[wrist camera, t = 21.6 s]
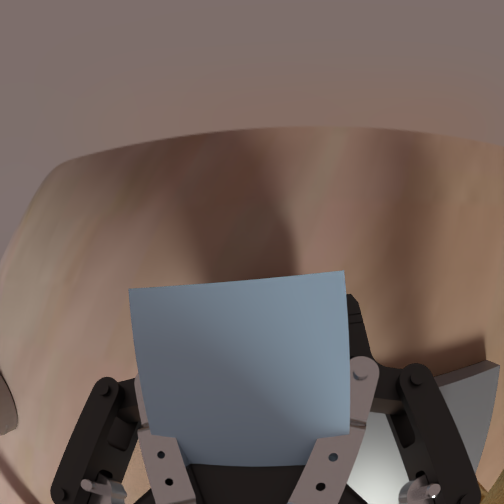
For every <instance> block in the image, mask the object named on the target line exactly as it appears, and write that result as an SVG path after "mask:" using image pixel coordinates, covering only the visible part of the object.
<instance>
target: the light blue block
mask: <svg viewBox="0 0 504 504" xmlns="http://www.w3.org/2000/svg"><path fill="white" fill-rule="evenodd" d="M129 301H130V312H131V321H132V330H133V338H134V346H135V353H136V360H137V366H138V373H139V378H140V384H141V390H142V395H143V400H144V405H145V410H146V414H147V419H148V423H149V427H150V432H151V435H158V436H165V437H173V438H176V439H177V441H178V442H179V444H180V446H181V448H182V449H183V451H184V453H185V455H186V456H187V458H188V461H189V464H208V465H222V466H250V467H263V466H292V465H306V464H307V461H308V459H309V457H310V455H311V452H312V450H313V448H314V445H315V443H316V440H317V438H326V437H334V436H341V435H348V434H349V431H350V354H349V330H348V313H347V299H346V287H345V276H344V270H343V271H334V272H325V273H315V274H306V275H296V276H286V277H275V278H265V279H254V280H242V281H231V282H219V283H206V284H193V285H179V286H165V287H150V288H134V289H129ZM329 460H330V461H332V462H333V461H336V458H335V457H334V456H330V457H329Z"/></svg>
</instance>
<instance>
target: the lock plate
mask: <svg viewBox="0 0 504 504" xmlns="http://www.w3.org/2000/svg"><path fill="white" fill-rule="evenodd" d="M499 369H500V365H498V364H495V363H493V362H490V361H488V360H485V361H482V362H480V363H477V364H474V365H471V366H468V367H465V368H462V369H459V370H456V371H453V372H450V373H446V374H443V375H439V376H436V377H434V379H435V381H436V383H437V385H438V387H439V389H440V391H441V393H442V395H443V397H444V400H445V402H446V404H447V406H448V408H449V410H450V413H451V415H452V417H453V419H454V422H455V424H456V426H457V429H458V431H459V433H460V436H461V438H462V441H463V443H464V446H465V448H466V451H467V453H468V456H469V459H470V461H471V464H472V467H473V470H474V472H475V473H476V470H477V467H478V464H479V461H480V458H481V455H482V452H483V448H484V445H485V441H486V438H487V434H488V430H489V426H490V421H491V417H492V412H493V407H494V402H495V397H496V391H497V384H498V377H499ZM407 482H409V479H408V476H407V473H406V470H405V467H404V464H403V461H402V458H401V456H400V453H399V450H398V447H397V444H396V442H395V439H394V436H393V433H392V431H391V428H390V425H389V423H388V420H387V418H386V415H385V414H382V413H375V412H369V415H368V419H367V422H366V430H365V434H364V437H363V440H362V443H361V446H360V449H359V452H358V455H357V458H356V460H355V463H354V466H353V468H352V471H351V474H350V476H349V479H348V481H347V484H348V485H349V486H350V487H351V488H352V489H353V490H354V491H355V492H356V493H357V494H359V495H360V496H361V497H362V498H363V499H364V500H365V501H366V502H367V503H368V504H399V500H398V496H399V492H400V490H401V488H402V487H403V486H404V485H405V484H406V483H407Z"/></svg>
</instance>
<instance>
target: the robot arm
mask: <svg viewBox="0 0 504 504" xmlns="http://www.w3.org/2000/svg"><path fill="white" fill-rule="evenodd" d="M346 299H347V313H348V330H349V354H350V431H349V434H348V435H341V436H334V437H326V438H317V440H316V443H315V445H314V448H313V450H312V452H311V455H310V457H309V459H308V461H307V464H306V465H292V466H263V467H250V466H222V465H208V464H189V461H188V458H187V456H186V455H185V453H184V451H183V449H182V448H181V446H180V444H179V442H178V441H177V439H176V438H173V437H165V436H158V435H151V432H150V427H149V423H148V419H147V414H146V410H145V405H144V400H143V395H142V390H141V384H140V378H139V373H138V374H137V376H136V378H133V379H130V380H125V381H121V382H117V381H116V380H115V379H113V378H111V377H104V378H102V379H100V380H98V381H97V382H96V384H95V385H94V387H93V389H92V391H91V393H90V396H89V398H88V400H87V402H86V404H85V406H84V408H83V411H82V413H81V415H80V417H79V419H78V422H77V424H76V426H75V428H74V431H73V433H72V435H71V438H70V440H69V442H68V445H67V447H66V450H65V452H64V454H63V457H62V459H61V462H60V465H59V467H58V470H57V472H56V475H55V478H54V480H53V483H52V486H51V490H50V492H51V498H52V500H53V502H54V503H55V504H125V503H124V499H125V498H126V497H127V493H126V491H125V490H124V487H123V486H122V484H121V483H122V480H123V478H124V475H125V472H126V469H127V467H128V464H129V461H130V459H131V456H132V453H133V451H134V448H135V445H136V443H137V440H138V439H139V443H140V448H141V452H142V456H143V460H144V464H145V468H146V472H147V475H148V479H149V482H150V486H151V489H149V490H148V491H147V492H146V493H145V494H144V495H143V496H142V497H141V498H139V499H138V500H137V501H136V502H135V503H134V504H368V503H367V502H366V501H365V500H364V499H363V498H362V497H361V496H360V495H359V494H357V493H356V492H355V491H354V490H353V489H352V488H351V487H350V486H349V485H348V484H347V481H348V479H349V476H350V474H351V471H352V468H353V466H354V463H355V460H356V458H357V455H358V452H359V449H360V446H361V443H362V440H363V437H364V434H365V430H366V422H367V419H368V415H369V412H375V413H382V414H385V415H386V418H387V420H388V423H389V425H390V428H391V431H392V433H393V436H394V439H395V442H396V444H397V447H398V450H399V453H400V456H401V458H402V461H403V464H404V467H405V470H406V473H407V476H408V479H409V482H407V483H406V484H405V485H404V486H403V487H402V488H401V490H400V492H399V496H398V500H399V504H480V501H481V490H480V487H479V484H478V481H477V478H476V475H475V472H474V470H473V467H472V464H471V461H470V459H469V456H468V453H467V451H466V448H465V446H464V443H463V441H462V438H461V436H460V433H459V431H458V429H457V426H456V424H455V422H454V419H453V417H452V415H451V413H450V410H449V408H448V406H447V404H446V402H445V400H444V397H443V395H442V393H441V391H440V389H439V387H438V385H437V383H436V381H435V379H434V377H433V375H432V373H431V371H430V370H429V369H428V368H427V367H426V366H424V365H422V364H418V363H414V364H410V365H408V366H406V367H405V368H404V369H397V368H389V367H385V366H382V365H380V364H379V363H377V362H376V361H375V359H374V358H373V356H372V354H371V351H370V347H369V343H368V338H367V334H366V330H365V326H364V323H363V319H362V315H361V311H360V307H359V304H358V302H357V301H356V299H355V298H354V297H353V296H352V295H351V294H346ZM16 427H17V413H16V409H15V405H14V402H13V399H12V397H11V394H10V392H9V390H8V387H7V386H6V384H5V382H4V380H3V378H2V377H1V375H0V436H1V435H4V434H6V433H8V432H10V431H12V430H14V429H16ZM330 456H334V457H335V458H336V461H333V462H332V461H330V460H329V457H330Z"/></svg>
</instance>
